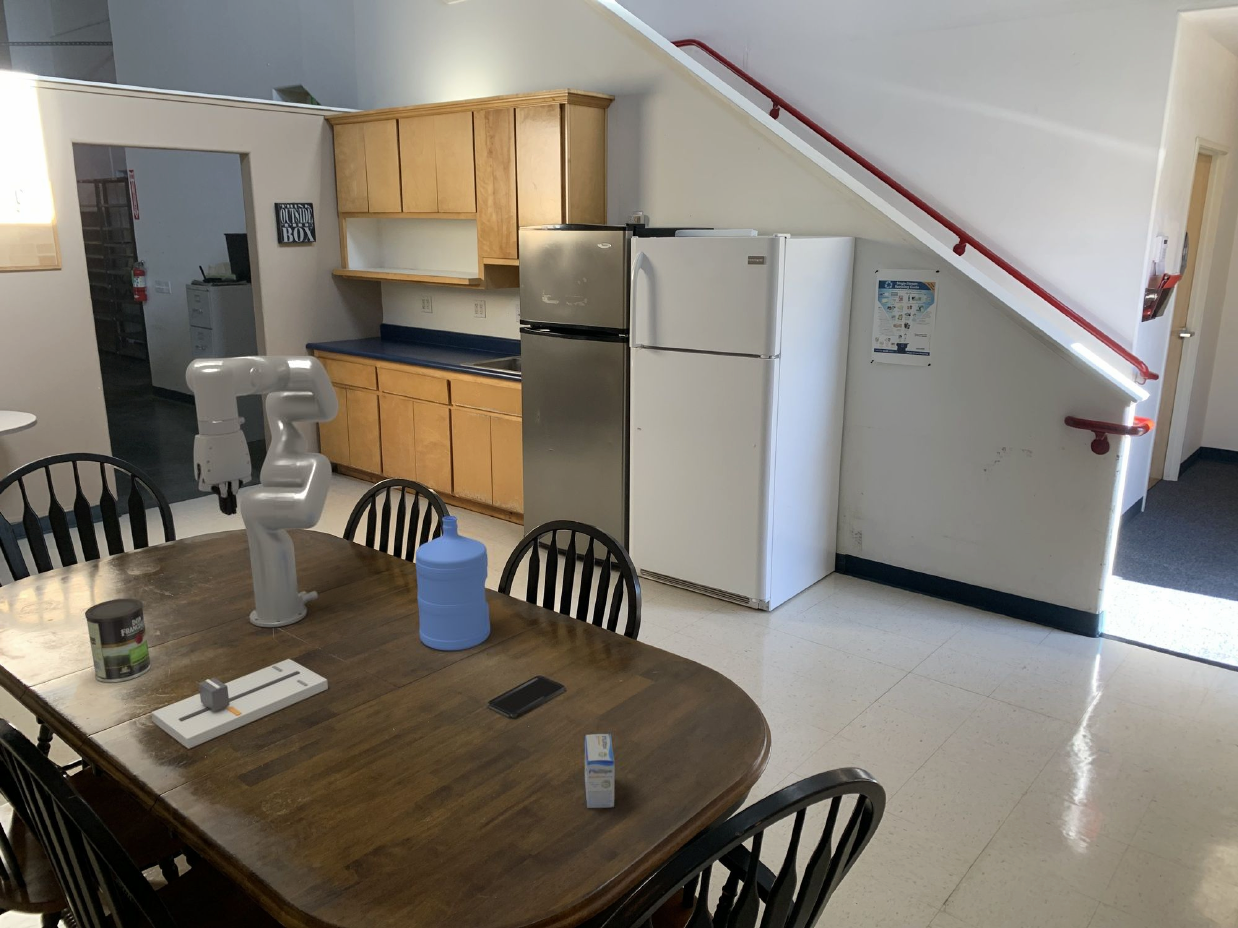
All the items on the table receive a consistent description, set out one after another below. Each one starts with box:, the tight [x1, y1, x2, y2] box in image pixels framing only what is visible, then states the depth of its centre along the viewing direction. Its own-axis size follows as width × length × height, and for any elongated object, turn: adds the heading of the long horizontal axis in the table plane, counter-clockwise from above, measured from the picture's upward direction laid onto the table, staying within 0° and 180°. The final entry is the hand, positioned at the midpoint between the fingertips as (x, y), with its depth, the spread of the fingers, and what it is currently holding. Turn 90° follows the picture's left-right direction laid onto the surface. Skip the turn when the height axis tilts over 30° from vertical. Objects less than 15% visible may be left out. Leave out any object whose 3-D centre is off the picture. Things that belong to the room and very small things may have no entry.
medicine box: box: [584, 733, 616, 809], centre depth 146 cm, size 8×4×9 cm, turn 5°
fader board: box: [151, 658, 329, 750], centre depth 174 cm, size 28×14×2 cm, turn 140°
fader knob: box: [198, 677, 230, 711], centre depth 169 cm, size 3×5×4 cm, turn 50°
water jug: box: [415, 515, 491, 651], centre depth 200 cm, size 16×16×28 cm
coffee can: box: [84, 598, 152, 683], centre depth 186 cm, size 10×10×14 cm
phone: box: [486, 675, 566, 720], centre depth 177 cm, size 8×1×15 cm
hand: (229, 513), depth 187 cm, fingers closed
